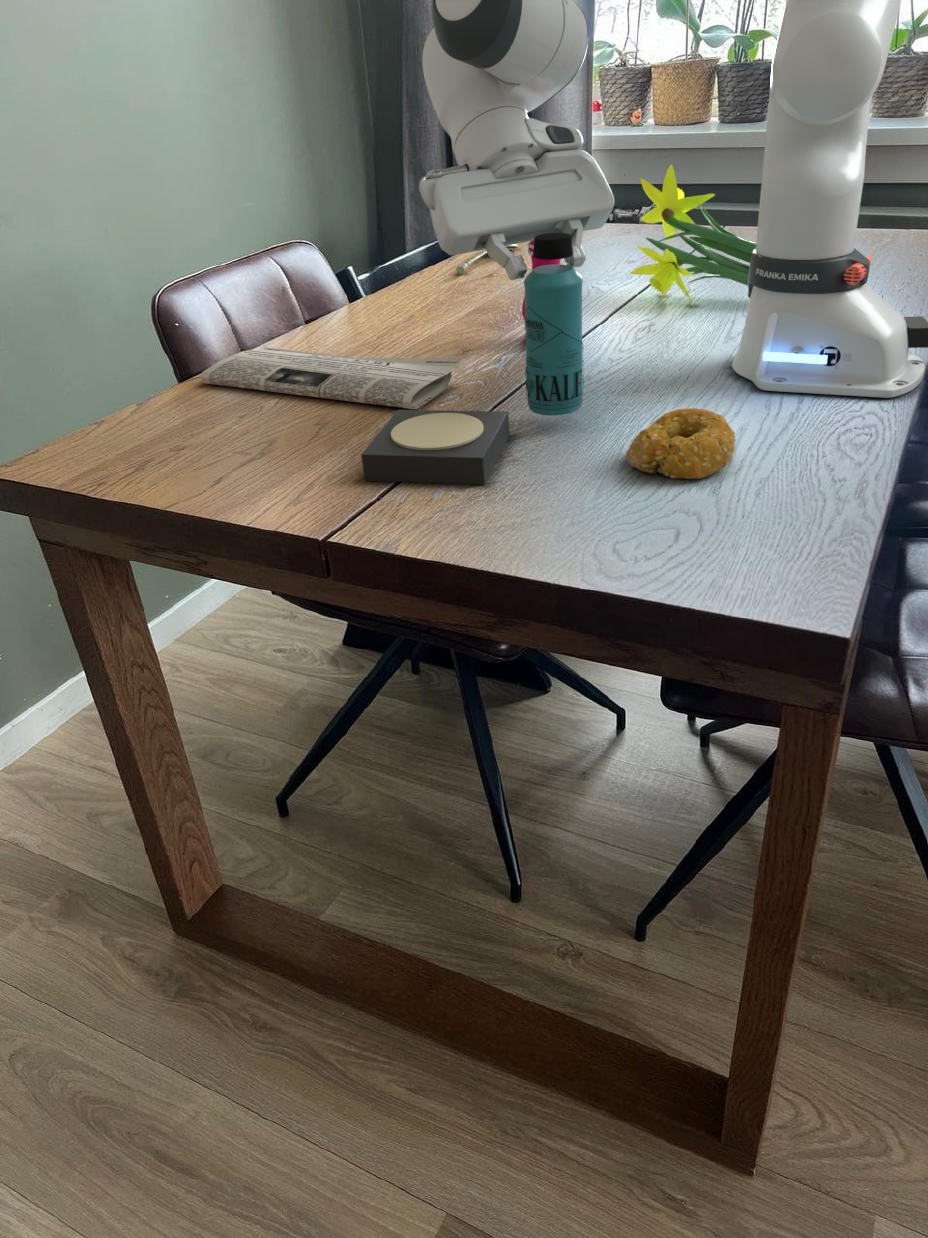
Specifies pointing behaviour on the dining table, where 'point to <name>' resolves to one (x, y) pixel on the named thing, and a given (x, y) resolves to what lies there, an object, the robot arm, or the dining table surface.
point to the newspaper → (336, 376)
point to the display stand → (437, 447)
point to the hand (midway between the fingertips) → (549, 269)
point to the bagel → (684, 444)
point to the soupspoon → (462, 268)
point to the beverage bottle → (553, 329)
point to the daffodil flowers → (689, 241)
